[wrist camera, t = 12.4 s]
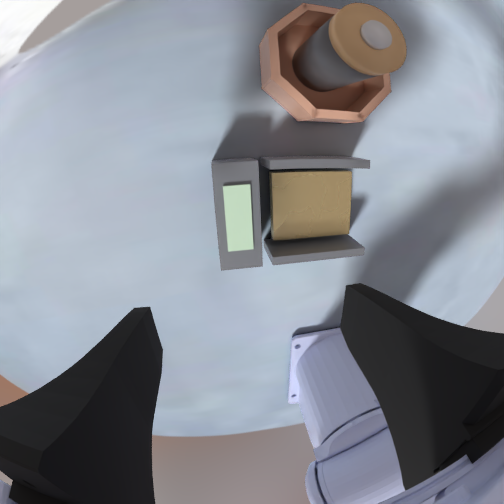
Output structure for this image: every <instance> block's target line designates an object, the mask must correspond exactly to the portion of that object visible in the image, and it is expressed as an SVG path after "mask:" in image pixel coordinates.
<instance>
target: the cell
mask: <svg viewBox="0 0 504 504" xmlns="http://www.w3.org/2000/svg"><path fill="white" fill-rule="evenodd" d="M406 51H407V50H406V43H405V39H404V36H403V34H402V32H401V30H400V29H399V27H398V26H397V24H396V23H395V22H394V21H393V20H392V19H391V18H390V17H389V16H388V15H387V14H386V13H384V12H383V11H382V10H380V9H378V8H376V7H374V6H372V5H369V4H365V3H352V4H348V5H346V6H344V7H343V8H342V9H341V10H339V11H338V12H337V13H336V14H335V15H334V16H333V17H331V18H330V19H329V20H328V21H327V22H326V23H325V24H323V25H322V26H321V27H320V28H319V29H318V30H317V31H316V32H315V33H314V34H313V35H312V36H310V37H309V38H308V39H307V40H306V41H305V42H304V43H303V44H302V45H301V46H300V47H299V48H298V49H297V50H296V51H295V53H294V55H293V59H292V67H293V71H294V73H295V75H296V77H297V78H298V80H299V81H300V82H301V83H302V84H303V85H305V86H306V87H308V88H310V89H312V90H314V91H319V92H328V91H332V90H335V89H337V88H340V87H343V86H346V85H349V84H353V83H356V82H359V81H362V80H365V79H369V78H372V77H376V76H379V75H383V74H387V73H390V72H394V71H396V70H398V69H399V68H400V67H401V66H402V65H403V63H404V61H405V58H406Z"/></svg>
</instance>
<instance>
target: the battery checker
mask: <svg viewBox="0 0 504 504" xmlns="http://www.w3.org/2000/svg"><path fill="white" fill-rule="evenodd" d="M260 158H261V165H262V166H264V167H266V168H268V169H295V168H367V169H370V160H366V159H361V158H355V157H349V156H274V157H260ZM211 165H212V178H213V190H214V202H215V213H216V224H217V235H218V245H219V255H220V264H221V270H231V269H241V268H251V267H261V266H263V262H262V236H261V212H260V189H259V167H258V160H255V159H253V158H236V159H223V160H212V164H211ZM264 247H265V249H266V252H267V254H268V256H269V258H270V260H271V262H272V264H273V265H280V264H289V263H299V262H308V261H317V260H326V259H335V258H343V257H352V256H360V255H364V250H365V248H364V247H363V246H362V245H361V244H359V243H358V242H357V241H356V240H354V239H353V238H352V237H350V236H349V235H348V234H343V235H331V236H320V237H308V238H297V239H286V240H275V241H274V240H273V239H265V240H264Z"/></svg>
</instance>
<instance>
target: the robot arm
mask: <svg viewBox="0 0 504 504" xmlns="http://www.w3.org/2000/svg"><path fill="white" fill-rule="evenodd" d="M297 344H299V345H298V346H296V345H297ZM162 355H163V349H162V346H161V342H160V339H159V336H158V333H157V329H156V326H155V323H154V319H153V316H152V312H151V309H150V307H140V308H134V309H133V310H131V311H130V312H129V313H128V314H127V315H126V316H125V317H124V318H123V319H122V320H121V321H120V322H119V323H118V324H117V325H116V326H115V327H114V328H113V329H112V330H111V331H110V332H109V333H108V334H107V335H106V336H105V337H104V338H103V339H102V340H101V341H100V342H99V343H98V344H97V345H96V346H95V347H93V348H92V349H91V350H90V351H89V352H88V353H87V354H86V355H85V356H84V357H83V358H81V359H80V360H79V361H78V362H77V363H75V364H74V365H73V366H72V367H70V368H69V369H68V370H66V371H65V372H64V373H62V374H61V375H59V376H58V377H56V378H55V379H53V380H52V381H50V382H49V383H47V384H46V385H44V386H42V387H41V388H39V389H38V390H36V391H34V392H32V393H30V394H28V395H27V396H24V397H23V398H20V399H18V400H16V401H14V402H12V403H10V404H7V405H4V406H1V407H0V471H1V472H3V473H4V474H5V475H7V476H8V477H9V478H11V479H12V480H13V482H12V486H10V485H8V484H7V483H5V482H3V481H2V480H0V504H155V499H154V488H153V477H152V427H153V419H154V413H155V407H156V401H157V396H158V390H159V384H160V379H161V373H162ZM288 402H289V403H290V404H294V403H299V406H300V409H301V412H302V415H303V418H304V421H305V425H306V427H307V431H308V433H309V437H310V440H311V443H312V445H313V447H314V448H315V449H314V454H315V457H316V460H315V461H313V462H311V463H310V464H309V467H308V471H307V473H306V477H305V485H306V491H307V495H308V498H309V500H310V503H311V504H504V334H503V333H495V332H487V331H482V330H476V329H472V328H468V327H464V326H460V325H457V324H453V323H450V322H447V321H444V320H441V319H438V318H436V317H433V316H431V315H428V314H426V313H424V312H421V311H419V310H417V309H414V308H412V307H410V306H408V305H406V304H404V303H402V302H400V301H398V300H396V299H394V298H392V297H389V296H387V295H385V294H383V293H381V292H379V291H377V290H375V289H373V288H371V287H369V286H366V285H364V284H361V283H359V284H352V285H346V291H345V299H344V306H343V313H342V320H341V326H340V328H335V329H330V330H324V331H319V332H313V333H307V334H301V335H296V336H294V337H293V338H292V340H291V356H290V374H289V390H288Z"/></svg>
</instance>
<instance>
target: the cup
mask: <svg viewBox="0 0 504 504" xmlns="http://www.w3.org/2000/svg"><path fill="white" fill-rule="evenodd" d="M339 10H341V9H336V8H331V7H325V6H319V5H313V4H306V3H302V4H301V5H300V6H299V7H297V8H296V9H294V10H293V11H292V12H290V13H289V14H287V15H286V16H285V17H283V18H282V19H281V20H279V21H278V22H277V23H275V24H274V25H273V26H272V27H270V28H269V29H267V31H266V33H265V35H264V37H263V39H262V41H261V43H260V45H259V51H260V67H261V84H262V87H261V88H262V90H264V91H265V92H266V93H267V94H269V95H270V96H271V97H272V98H273V99H274V100H275V101H276V102H277V103H279V104H280V105H281V106H282V107H283V108H284V109H285V110H286V111H287V112H288V113H289V114H290V115H292V116H293V117H294V118H295V119H296V121H298V122H299V121H314V122H334V123H340V124H341V123H354V122H363V121H364V120H365V119H366V117H367V116H368V115H369V114H370V113H371V112H372V111H373V110H374V109H375V108H376V107H377V106H378V105H379V104H380V103H381V102H382V101H383V99H384V98H385V97H386V96H387V95H388V94H389V93H391V85H390V74H389V73H387V74H383V75H379V76H376V77H372V78H369V79H365V80H362V81H359V82H356V83H353V84H349V85H346V86H343V87H340V88H337V89H335V90H332V91H328V92H319V91H314V90H312V89H310V88H308V87H306V86H305V85H303V84H302V83H301V82H300V81H299V80H298V78H297V77H296V75H295V73H294V71H293V67H292V59H293V55H294V53H295V51H296V50H297V49H298V48H299V47H300V46H301V45H302V44H303V43H304V42H305V41H306V40H307V39H308V38H309V37H310V36H312V35H313V34H314V33H315V32H316V31H317V30H318V29H319V28H320V27H321V26H322V25H323V24H325V23H326V22H327V21H328V20H329V19H330V18H331V17H333V16H334V15H335V14H336V13H337V12H338V11H339Z"/></svg>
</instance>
